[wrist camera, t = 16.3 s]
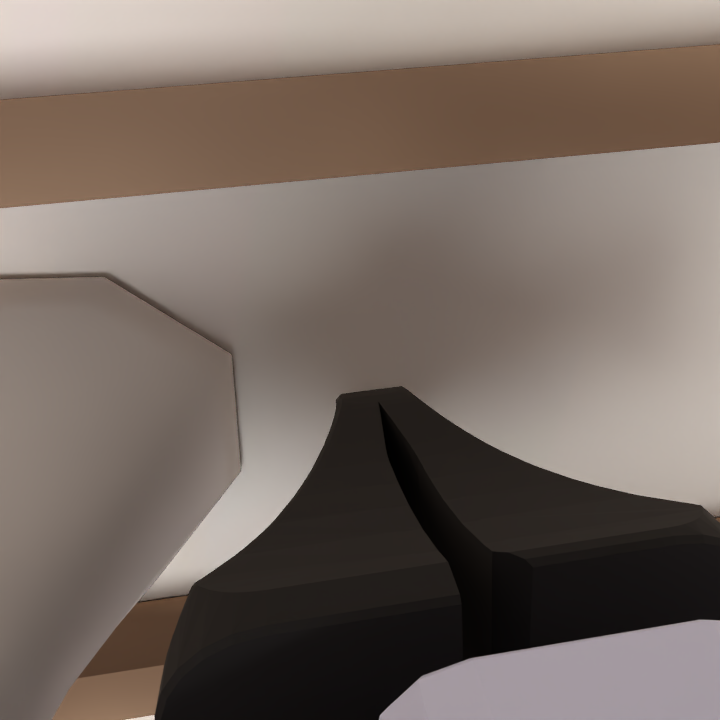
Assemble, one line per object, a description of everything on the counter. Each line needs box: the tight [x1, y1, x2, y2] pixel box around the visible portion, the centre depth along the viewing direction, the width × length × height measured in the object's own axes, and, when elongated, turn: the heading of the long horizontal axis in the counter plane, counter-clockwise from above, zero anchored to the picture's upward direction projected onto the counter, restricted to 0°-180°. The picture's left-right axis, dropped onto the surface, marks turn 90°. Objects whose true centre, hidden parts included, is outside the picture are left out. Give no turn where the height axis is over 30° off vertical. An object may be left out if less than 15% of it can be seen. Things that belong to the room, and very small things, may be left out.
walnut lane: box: [0, 44, 720, 720], centre depth 13 cm, size 13×28×2 cm, turn 94°
